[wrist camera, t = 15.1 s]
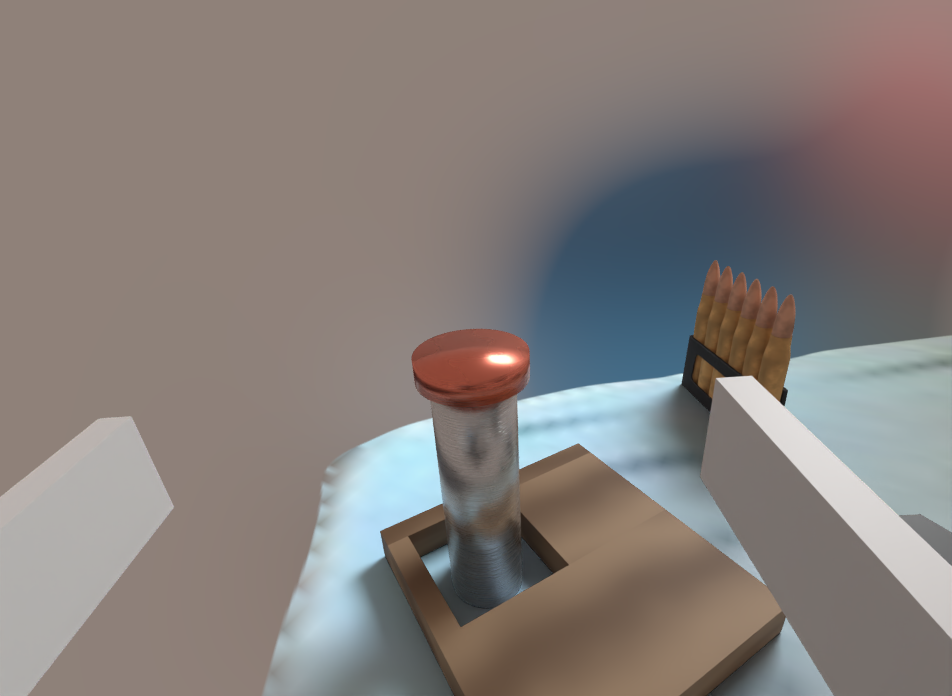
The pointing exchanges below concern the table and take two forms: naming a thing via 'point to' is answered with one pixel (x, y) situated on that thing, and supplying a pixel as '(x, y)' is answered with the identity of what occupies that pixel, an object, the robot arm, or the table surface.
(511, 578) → the steel pin
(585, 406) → the table surface
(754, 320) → the ammunition clip
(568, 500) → the walnut plate
